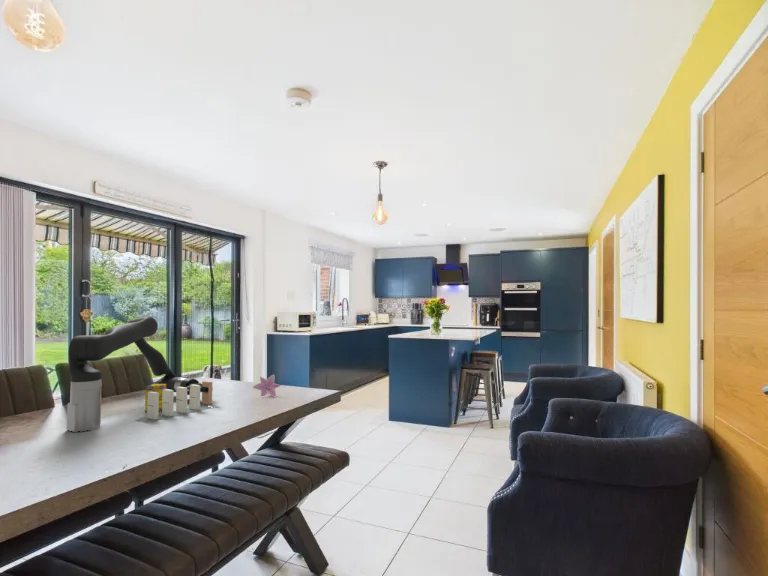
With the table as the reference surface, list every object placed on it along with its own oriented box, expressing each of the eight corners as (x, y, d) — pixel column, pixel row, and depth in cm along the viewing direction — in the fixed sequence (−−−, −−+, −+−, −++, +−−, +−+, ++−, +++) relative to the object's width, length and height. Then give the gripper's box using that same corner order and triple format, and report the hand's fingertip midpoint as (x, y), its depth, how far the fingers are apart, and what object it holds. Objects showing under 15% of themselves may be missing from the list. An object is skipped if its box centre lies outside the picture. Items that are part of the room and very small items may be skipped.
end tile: (154, 419, 164) (154, 393, 164) (147, 417, 167) (147, 392, 167) (158, 418, 165) (158, 392, 166) (151, 417, 168) (151, 391, 168)
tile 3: (183, 413, 174) (183, 388, 175) (176, 411, 177) (176, 387, 177) (186, 412, 175) (187, 387, 176) (179, 410, 178) (180, 386, 179)
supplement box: (158, 412, 176) (159, 386, 177) (144, 412, 176) (145, 386, 177) (166, 409, 182) (166, 383, 182) (152, 409, 182) (153, 383, 183)
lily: (249, 399, 207) (251, 383, 203) (260, 385, 218) (262, 370, 214) (272, 407, 206) (274, 391, 202) (282, 393, 217) (285, 378, 213)
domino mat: (146, 423, 159) (146, 423, 159) (133, 420, 164) (133, 419, 164) (218, 407, 185) (218, 406, 185) (205, 404, 190) (205, 404, 190)
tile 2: (196, 410, 179) (196, 386, 180) (189, 408, 182) (189, 385, 182) (200, 409, 180) (200, 385, 181) (192, 407, 183) (193, 384, 184)
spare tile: (208, 405, 190) (209, 382, 190) (201, 403, 192) (202, 381, 193) (212, 404, 191) (212, 381, 192) (205, 403, 194) (205, 380, 194)
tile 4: (169, 416, 169) (169, 390, 169) (161, 414, 172) (162, 389, 172) (173, 415, 170) (173, 390, 171) (165, 413, 173) (166, 388, 173)
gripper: (173, 380, 195) (196, 383, 185) (199, 376, 206) (223, 379, 197) (172, 396, 194) (196, 401, 185) (199, 391, 206) (222, 395, 197)
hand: (209, 389), depth 191 cm, fingers closed on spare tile, 1 cm apart
